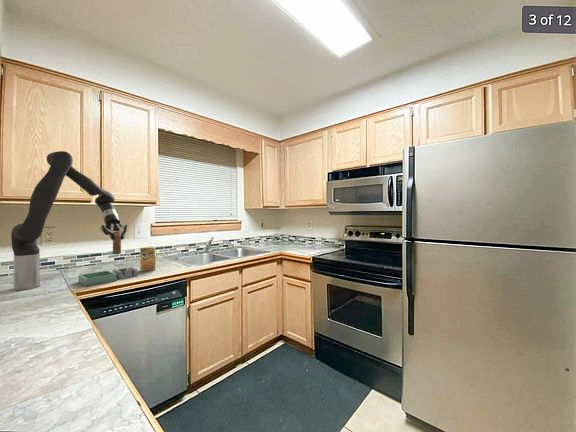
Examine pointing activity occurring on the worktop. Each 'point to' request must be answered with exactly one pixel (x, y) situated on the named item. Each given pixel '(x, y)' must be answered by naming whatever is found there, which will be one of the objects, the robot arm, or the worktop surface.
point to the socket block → (125, 272)
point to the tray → (97, 278)
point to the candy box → (147, 258)
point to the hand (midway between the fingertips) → (118, 238)
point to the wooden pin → (117, 243)
